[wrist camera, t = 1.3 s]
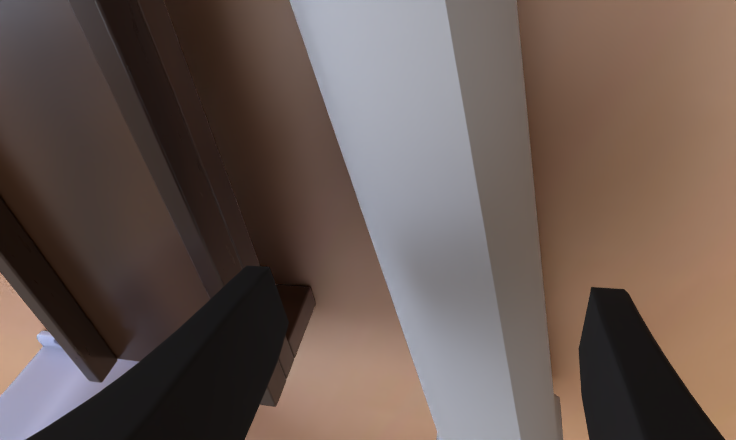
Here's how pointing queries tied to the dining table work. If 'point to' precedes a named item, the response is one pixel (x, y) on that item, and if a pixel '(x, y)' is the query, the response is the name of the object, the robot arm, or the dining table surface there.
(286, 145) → the dining table surface
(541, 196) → the dining table surface
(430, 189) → the grey octagonal prism
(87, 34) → the dark brown tray
